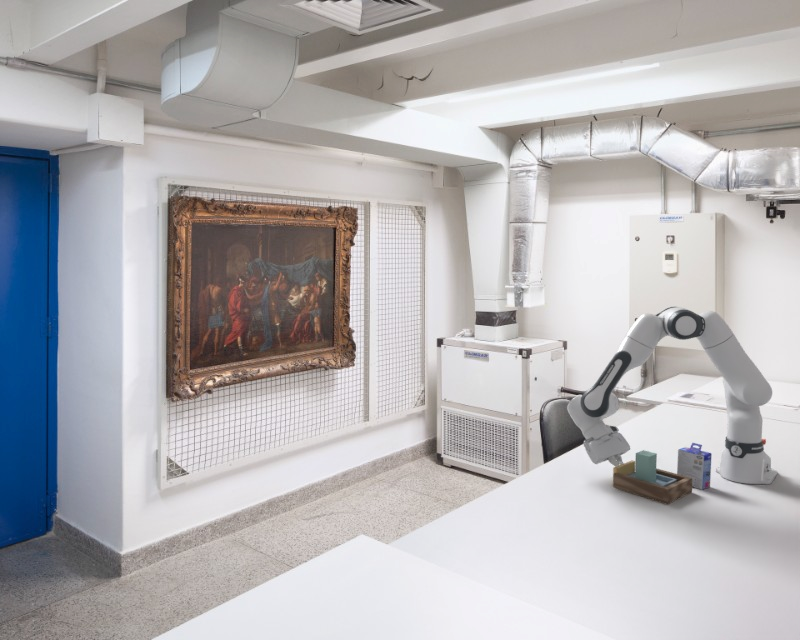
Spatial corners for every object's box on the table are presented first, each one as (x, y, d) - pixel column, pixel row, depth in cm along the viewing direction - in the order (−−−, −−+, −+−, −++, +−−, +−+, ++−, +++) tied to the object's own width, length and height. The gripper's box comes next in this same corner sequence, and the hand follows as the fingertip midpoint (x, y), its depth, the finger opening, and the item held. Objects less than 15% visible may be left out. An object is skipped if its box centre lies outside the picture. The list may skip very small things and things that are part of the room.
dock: (638, 476, 236) (638, 463, 236) (691, 492, 221) (692, 478, 220) (613, 487, 226) (613, 473, 226) (667, 504, 211) (668, 489, 210)
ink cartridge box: (711, 486, 226) (712, 446, 224) (703, 490, 222) (704, 449, 221) (684, 479, 233) (685, 439, 232) (675, 482, 230) (677, 442, 229)
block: (642, 477, 229) (643, 450, 228) (655, 481, 225) (656, 453, 224) (634, 481, 226) (635, 453, 225) (648, 484, 222) (649, 456, 221)
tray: (631, 473, 236) (632, 460, 235) (677, 486, 223) (677, 472, 222) (613, 481, 228) (613, 467, 228) (658, 495, 215) (659, 480, 214)
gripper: (586, 436, 230) (610, 469, 224) (619, 425, 243) (642, 457, 237) (576, 445, 234) (599, 479, 228) (608, 434, 247) (631, 466, 241)
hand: (621, 467), depth 232 cm, fingers closed, pressing on tray
